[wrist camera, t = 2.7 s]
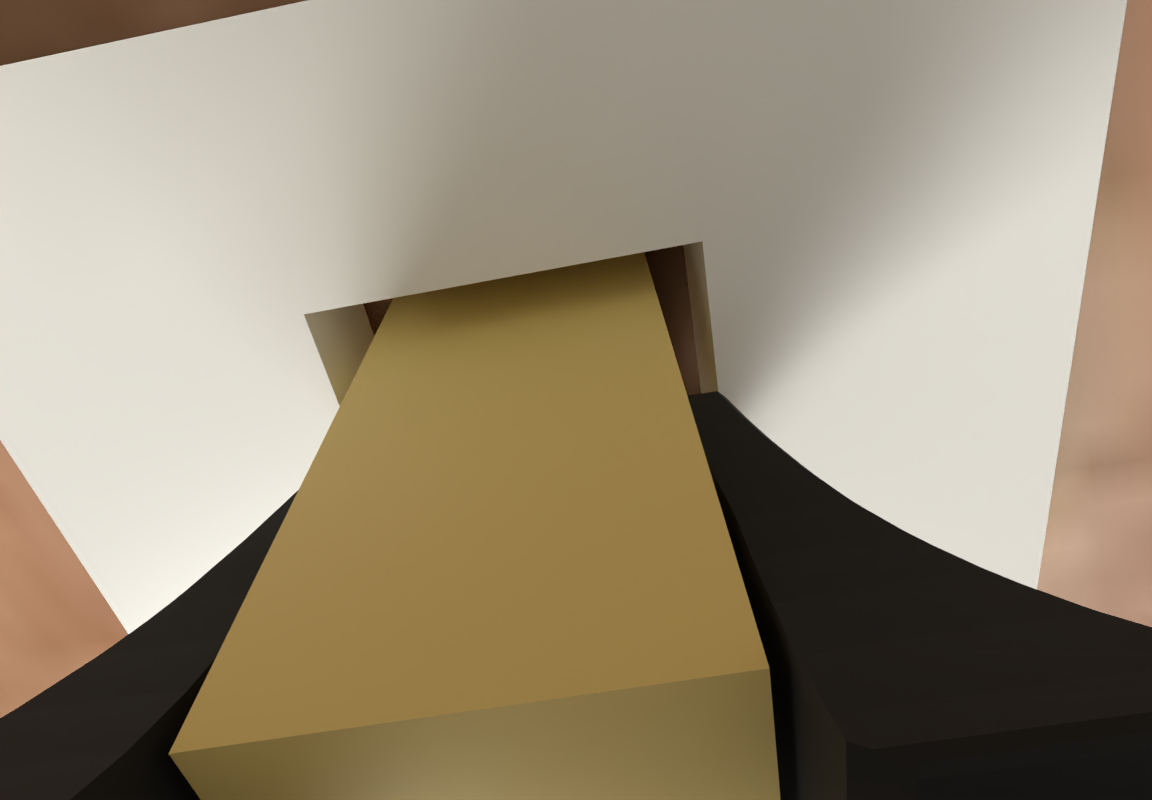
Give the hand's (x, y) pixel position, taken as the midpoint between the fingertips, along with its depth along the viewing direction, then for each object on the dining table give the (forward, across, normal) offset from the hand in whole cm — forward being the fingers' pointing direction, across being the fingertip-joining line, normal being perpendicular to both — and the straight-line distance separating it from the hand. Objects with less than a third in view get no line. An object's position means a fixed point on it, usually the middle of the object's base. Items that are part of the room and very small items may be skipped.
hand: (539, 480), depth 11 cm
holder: (+3, 0, 0) cm, 3 cm away
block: (+3, 0, 0) cm, 3 cm away
